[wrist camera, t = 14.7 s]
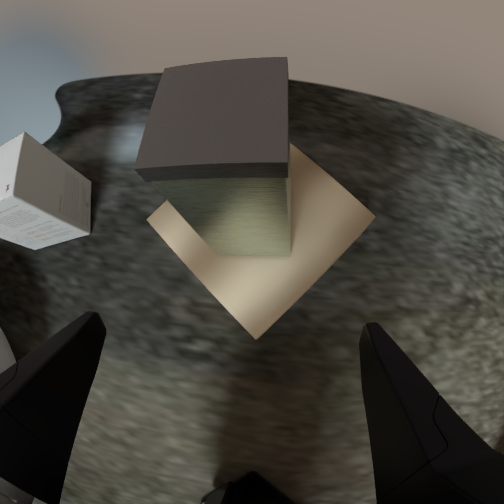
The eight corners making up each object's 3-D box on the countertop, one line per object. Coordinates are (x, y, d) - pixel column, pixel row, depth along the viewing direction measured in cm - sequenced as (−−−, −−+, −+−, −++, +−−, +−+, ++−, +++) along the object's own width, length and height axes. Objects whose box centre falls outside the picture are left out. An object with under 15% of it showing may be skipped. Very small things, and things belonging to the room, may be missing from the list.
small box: (93, 182, 27) (26, 128, 17) (92, 236, 26) (13, 195, 16) (37, 202, 28) (-29, 163, 18) (34, 251, 26) (-41, 223, 16)
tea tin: (293, 187, 22) (287, 57, 11) (291, 258, 21) (287, 162, 9) (222, 187, 23) (164, 68, 11) (215, 256, 21) (133, 169, 10)
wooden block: (365, 228, 24) (375, 216, 21) (259, 337, 23) (255, 339, 20) (261, 138, 27) (259, 119, 24) (160, 230, 26) (146, 219, 23)
